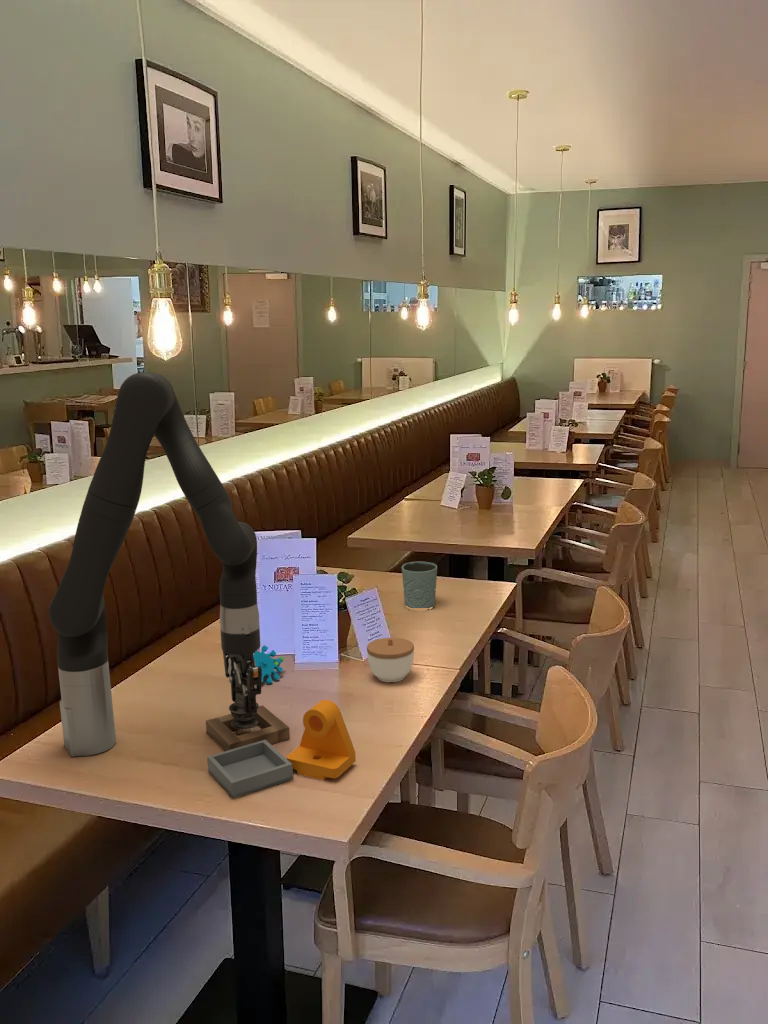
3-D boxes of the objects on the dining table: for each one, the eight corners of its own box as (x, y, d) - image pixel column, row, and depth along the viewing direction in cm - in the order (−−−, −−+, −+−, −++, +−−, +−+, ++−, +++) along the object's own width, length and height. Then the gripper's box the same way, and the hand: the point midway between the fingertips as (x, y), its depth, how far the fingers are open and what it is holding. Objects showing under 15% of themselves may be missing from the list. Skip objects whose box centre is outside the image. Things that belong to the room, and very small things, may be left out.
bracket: (285, 771, 163) (281, 710, 160) (306, 753, 169) (303, 695, 167) (336, 783, 158) (333, 721, 156) (355, 765, 164) (353, 704, 162)
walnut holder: (230, 756, 169) (229, 744, 168) (206, 732, 179) (205, 720, 179) (289, 739, 175) (289, 727, 175) (263, 716, 186) (262, 705, 185)
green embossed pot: (421, 599, 260) (420, 559, 257) (445, 606, 252) (444, 566, 250) (395, 606, 254) (394, 566, 251) (418, 615, 246) (417, 573, 243)
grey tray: (232, 798, 154) (231, 783, 153) (208, 771, 164) (207, 756, 163) (293, 779, 160) (292, 764, 159) (266, 754, 169) (265, 739, 169)
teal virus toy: (253, 684, 198) (238, 645, 202) (242, 697, 202) (227, 658, 206) (294, 677, 205) (278, 639, 210) (282, 689, 209) (267, 652, 213)
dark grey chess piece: (264, 718, 178) (261, 662, 176) (252, 731, 173) (249, 673, 170) (237, 715, 180) (234, 659, 178) (224, 728, 175) (221, 670, 172)
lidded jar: (361, 684, 201) (359, 644, 199) (376, 666, 211) (375, 628, 209) (406, 689, 197) (405, 649, 195) (420, 671, 207) (419, 632, 205)
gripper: (208, 619, 176) (212, 698, 180) (236, 640, 164) (240, 724, 168) (243, 612, 180) (247, 690, 184) (273, 632, 168) (276, 715, 172)
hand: (244, 706), depth 176 cm, fingers closed on dark grey chess piece, 6 cm apart
